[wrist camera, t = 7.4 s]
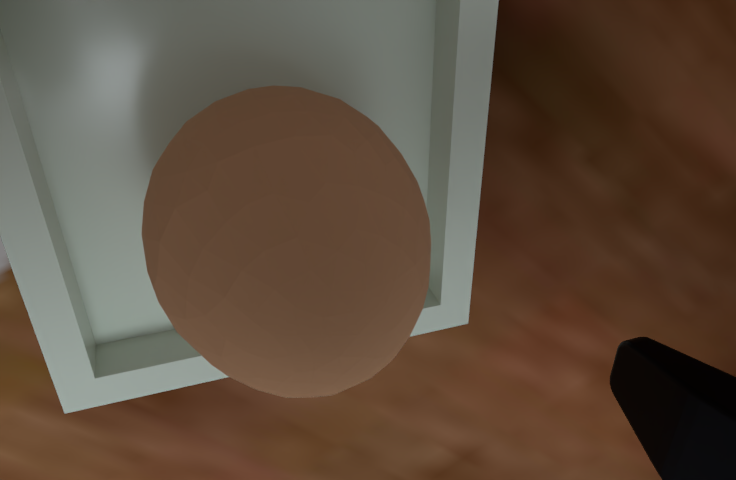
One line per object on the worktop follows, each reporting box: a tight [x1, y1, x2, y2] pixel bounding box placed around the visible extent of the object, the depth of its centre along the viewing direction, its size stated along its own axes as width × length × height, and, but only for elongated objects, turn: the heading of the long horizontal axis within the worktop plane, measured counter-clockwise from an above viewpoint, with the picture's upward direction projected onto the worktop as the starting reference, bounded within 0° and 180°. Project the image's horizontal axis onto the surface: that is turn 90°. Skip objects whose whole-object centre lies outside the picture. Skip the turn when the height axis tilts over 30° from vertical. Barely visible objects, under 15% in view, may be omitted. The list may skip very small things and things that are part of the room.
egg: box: [141, 86, 431, 398], centre depth 14 cm, size 6×6×8 cm
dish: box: [0, 0, 499, 413], centre depth 17 cm, size 12×12×2 cm
